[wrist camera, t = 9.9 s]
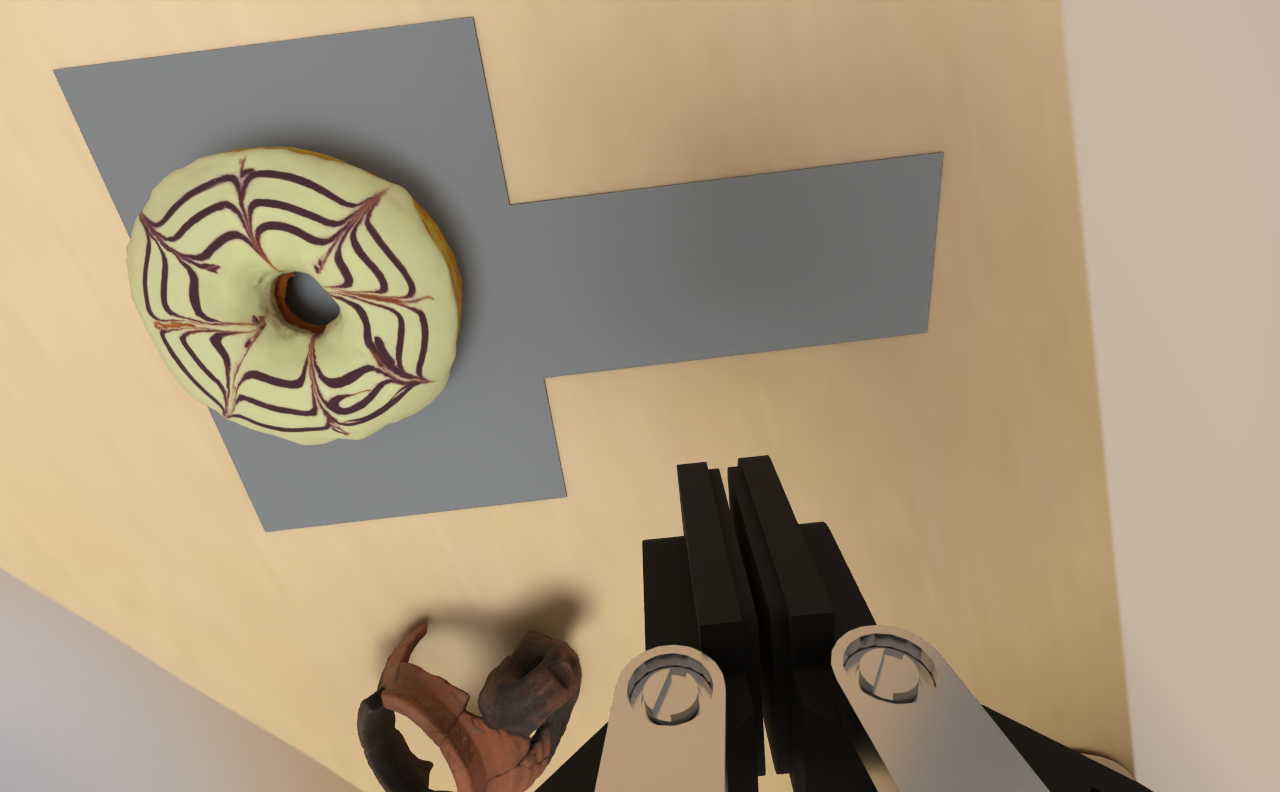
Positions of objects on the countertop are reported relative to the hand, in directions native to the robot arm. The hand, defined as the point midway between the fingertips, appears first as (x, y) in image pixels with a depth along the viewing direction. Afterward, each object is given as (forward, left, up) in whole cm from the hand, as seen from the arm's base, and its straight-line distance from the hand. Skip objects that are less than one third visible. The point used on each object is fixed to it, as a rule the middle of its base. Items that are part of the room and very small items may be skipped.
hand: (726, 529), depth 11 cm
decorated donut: (+13, -2, -15) cm, 20 cm away
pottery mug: (+11, +19, -15) cm, 26 cm away
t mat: (+4, -1, -15) cm, 15 cm away
